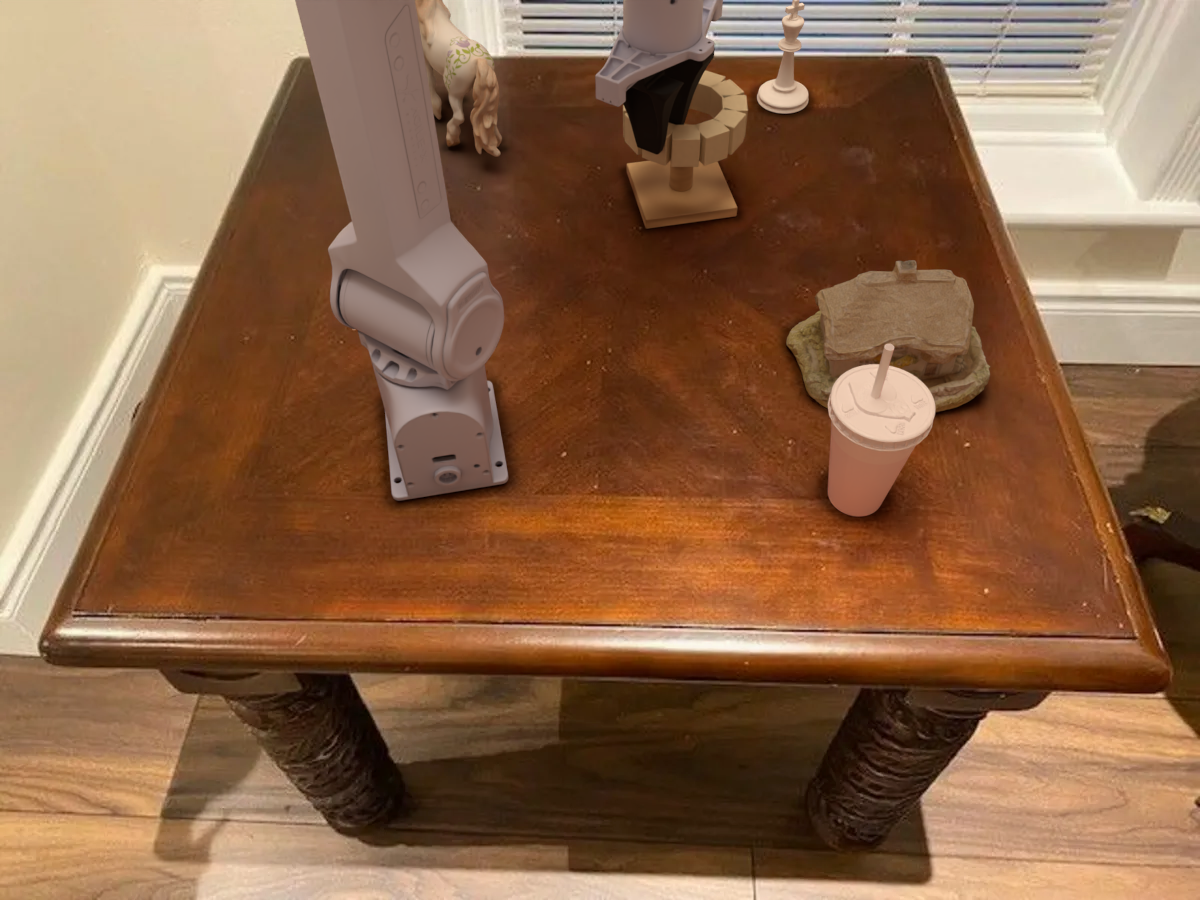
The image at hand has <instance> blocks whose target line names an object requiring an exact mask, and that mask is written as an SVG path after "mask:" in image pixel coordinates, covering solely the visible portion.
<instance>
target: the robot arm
mask: <svg viewBox="0 0 1200 900" xmlns="http://www.w3.org/2000/svg"><path fill="white" fill-rule="evenodd" d="M294 2H295V6H296V9H297V14H298V17H299V21H300V25H301V30H302V33H303V36H304V41H305V45H306V49H307V52H308V56H309V60H310V65H311V68H312V71H313V75H314V80H315V83H316V87H317V92H318V96H319V99H320V103H321V107H322V111H323V115H324V117H325V122H326V126H327V131H328V134H329V139H330V143H331V146H332V148H333V154H334V157H335V161H336V165H337V169H338V173H339V176H340V180H341V184H342V188H343V192H344V196H345V200H346V205H347V208H348V211H349V216H350V219H351V221H350V222H349V223H348V224H347V225H345V226H344V228H342V229H341V231H340V232H339V233H338V234H337V235H336V237H335V238H334V239H333V241H332V242H331V243H330V245H329V246H328V248H327V252H328V256H329V259H330V264H331V282H330V290H329V302H330V308H331V312H332V314H333V316H334V317H335V319H336V320H337V321H338V322H339V324H341V325H343V326H345V327H347V328H349V329H352V330H357V334H358V337H359V341H360V344H361V346H363V347H364V348H365V349H366V350H367V352H368V353H369V357H370V361H371V365H372V369H373V372H374V376H375V380H376V383H377V386H378V390H379V393H380V398H381V401H382V404H383V408H384V413H385V414H384V415H385V416H384V417H385V428H386V440H387V441H386V443H387V451H388V465H389V478H390V479H389V480H390V491H391V496H392V499H393V500H395V501H399V502H400V501H407V500H412V499H419V498H424V497H432V496H438V495H444V494H450V493H455V492H461V491H468V490H474V489H475V490H476V489H481V488H486V487H492V486H493V487H494V486H498V485H499V486H500V485H503V484H506V483H507V482H508V481H509V472H508V471H509V470H508V467H507V460H506V454H505V449H504V443H503V436H502V431H501V426H500V420H499V419H500V418H499V412H498V408H497V407H498V406H497V403H496V396H495V390H494V384H493V382H492V381H491V380H488V379H487V377H488V376H487V371H486V363H487V362H488V361H489V359H490V358H491V357H492V356H493V354H494V352H495V350H496V349H497V347H498V344H499V342H500V340H501V336H502V334H503V330H504V325H505V324H504V323H505V308H504V307H505V306H504V301H503V298H502V295H501V293H500V292H499V291H498V289H496V287H495V286H494V285H493V283H492V282H491V279H490V275H489V266H488V263H487V262H486V260H485V259H484V258H483V257H482V255H481V254H480V253H479V252H478V250H476V248H475V247H474V246H473V245H472V243H470V242H469V241H468V239H467V238H466V237H465V236H464V235H463V234H462V232H461V231H460V230H459V228H457V226H456V225H455V224H454V223H453V222H452V219H451V213H450V208H449V201H448V194H447V188H446V182H445V176H444V169H443V164H442V158H441V157H442V156H441V152H440V145H439V139H438V133H437V126H436V120H435V115H434V114H433V108H432V102H431V96H430V90H429V84H428V77H427V71H426V65H425V59H424V53H423V47H422V41H421V35H420V28H419V22H418V16H417V10H416V4H415V0H294ZM723 4H724V0H622V26H621V28H620V30H619V32H618V35H617V37H616V39H615V42H614V43H613V45H612V48H611V51H610V52H609V55H608V58H607V59H606V62H605V64H604V65H603V67H602V68H601V69H599V71H598V72H597V73H596V74H595V75H594V78H595V79H594V80H595V81H594V82H595V99H596V100H599V101H601V102H603V103H605V104H608V105H612V106H615V107H617V108H619V107H621V106H623V105H624V107H625V109H626V112H627V114H628V117H629V120H630V123H631V126H632V130H633V134H634V137H635V141H636V144H637V147H638V148H641V149H643V150H646V151H649V152H651V153H654V154H656V155H657V154H659V153H660V152H661V151H662V150H663V148H664V145H665V141H666V136H667V130H668V123H672V124H675V125H684V124H686V120H687V117H688V113H689V110H690V109H689V107H690V104H691V101H692V98H693V95H694V92H695V90H696V87H697V85H698V83H699V81H700V79H701V77H702V75H703V73H704V71H705V70H706V71H707V68H708V66H709V65H710V64H711V63H712V61H713V59H714V58H715V41H714V40H712V39H710V38H707V36H708V32H709V29H710V26H711V23H713V22H717V21H718V20H719V19H721V17H722V16H723ZM498 465H501V466H498ZM399 481H400V482H399Z"/></svg>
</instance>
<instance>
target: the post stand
mask: <svg viewBox="0 0 1200 900" xmlns="http://www.w3.org/2000/svg"><path fill="white" fill-rule="evenodd" d="M684 125H690V124H689V123H684ZM626 175H627V178H628V180H629V183H630V186H631V190H632V192H633V196H634V198H635V202H636V204H637V207H638V210H639V212H640V216H641V219H642V221H643V225H644V229H646V230H647V229H655V228H661V227H668V226H669V227H670V226H676V225H683V224H684V225H685V224H691V223H697V222H706V221H713V220H719V219H726V218H734V217H737V215H738V214H737V213H738V206H737V203H736V201H735V199H734V197H733V194H732V191H731V190H730V187H729V185H728V183H727V181H726V177H725V175H724V173H723V170H722V169H721V166H720V164H719V161H717V162H714V163H711V164H709V165H706V166H704V165H703V164H702V163H701V162H700V161H699V166H698V167H671V160H670V161H669V162H668V164H667V165H666V166H664V165H661V164H659V163H656V162H653V161H650V160H644V161H636V162H635V161H634V162H627V163H626Z"/></svg>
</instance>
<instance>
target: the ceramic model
mask: <svg viewBox="0 0 1200 900" xmlns="http://www.w3.org/2000/svg"><path fill="white" fill-rule="evenodd" d="M917 266H918V265H917V261H916V260H914V259H912V260H911V259H909V260H905V261H902V260H896V261H895V263H894V267H893V269H892V271H883V270H881V271H880V270H879V271H877V270H868V271H866V272H863V273H862V272H861V273H859V274H857V276H856V277H854V278H852V279H850V280H847V281H844V282H841V283H837V284H835V285H833V286H832V287H827V288H823V289H821V290H819V291H818V292H817V293H816V294H815V296H814V301H815V302H814V303H815V305H816V306H817V307H818V308H819V310H818V311H817V312H815V314H813V315H810V316H809V317H807V319H805V320H802V321H800V322H798V324H796V325H794V327H792V329H790V331H789V333H788V335H787V337H786V341H785V345H786V346H787V348H788V349H789V350H790V351H791V353H792V354H793V356H794V358H795V359H796V362H797V364H798V367H799V369H800V371H801V375H802V379H803V382H804V386H805V390H806V392H807V394H808V396H810V397H811V398H812V399H813V400H815V402H817V403H818V404H819V405H821V406H822V407H824V408H826V409H828V400H829V396H830V394H831V391H832V387H833V385H834V383H835V382H836V380H837V379H838V378H839V377H840V376H841V375H842V374H843V373H845V372H847V371H848V370H850V369H852V368H855V367H858V366H862V365H869V364H880V361H881V357H882V354H883V350H884V347H885V345H886V344H892V345H893V346H894V351H893V354H892V357H891V361H890V364H889V366H893V367H897V368H900V369H902V370H905V371H907V372H909V373H911V374H912V375H914V376H915V377H917V378H918V379H919V380H921V381H922V382H923V383H924V384H925V385H926V387H927V388H928V389H929V391H930V392H931V394H932V396H933V398H934V402H935V413H940V412H943V411H947V410H952V409H956V408H958V407H961V406H962V405H965V404H967V403H968V402H970V401H972V400H973V399H975V397H977V396H979V394H981V393H982V392H983V391H984V390H985V388H986V386H987V385H988V383H989V381H990V377H991V372H990V368H991V365H989V364H988V362H987V359H986V358H987V357H986V355H985V352H984V351H983V345H982V338H981V337H980V335H979V333H978V332H977V329H976V327H975V326H973V320H974V319H973V318H974V310H975V304H974V303H975V302H974V300H973V296H972V294H971V290H970V289H969V286H968V283H967V280H966V279H964V278H963V277H959V276H957V275H955V274H954V273H953V271H952V270H950V269H917V268H918V267H917Z"/></svg>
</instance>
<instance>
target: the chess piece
mask: <svg viewBox="0 0 1200 900" xmlns="http://www.w3.org/2000/svg"><path fill="white" fill-rule="evenodd" d="M804 10H805V4H804V3H803V2H800V0H792V1H791V5H788V6H785V11H784V12H785V13H786V14H787V15H785V16H783V17H782V19H781V25H782V30H783V36H784V37H783V38H781V39H780V40H779V41H778V43H777V47H778V49H779V50H781V51H782V56H781V62H780V65H779V69H778V72H777V76H776V78H773V79H769V80H767V81H765V82H763V84H761V85H760V86H759V89H758V91H757V94H756V101H757V103H758V105H759V106H760V107H762V108H763V109H765V110H766V111H768V112H771V113H774V114H781V115H784V114H785V115H786V114H788V115H789V114H794V113H797V112H800V111H802V110H804V109H805V108H806V107H807V106H808V104H809V90H808V89H807V87H806V86H805V85H804V84H802V83H800V81H797V80H795V53H796V52H798V51H801V49H802V41H800V40H799V39H798V37H799V35H800V32H801V31H802V29H803V27H804V25H805V19H804V17H802V16H801V15H798V14H799V12H800V11H804Z"/></svg>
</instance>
